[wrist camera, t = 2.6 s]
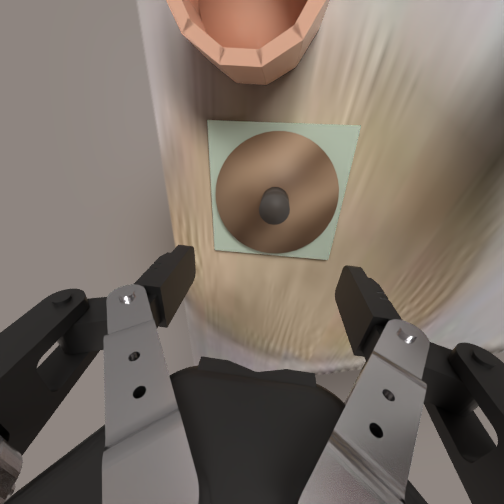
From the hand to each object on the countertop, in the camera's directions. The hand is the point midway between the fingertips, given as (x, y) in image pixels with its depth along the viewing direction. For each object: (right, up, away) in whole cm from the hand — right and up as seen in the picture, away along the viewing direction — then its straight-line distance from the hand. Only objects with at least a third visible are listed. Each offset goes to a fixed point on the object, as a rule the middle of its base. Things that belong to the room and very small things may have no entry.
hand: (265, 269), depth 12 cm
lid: (+2, +7, +13) cm, 15 cm away
